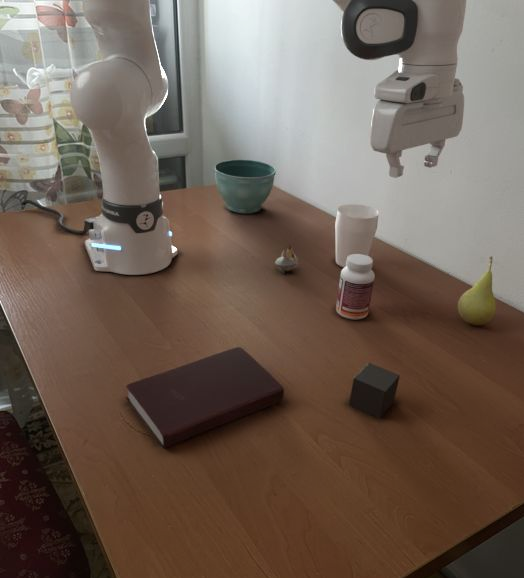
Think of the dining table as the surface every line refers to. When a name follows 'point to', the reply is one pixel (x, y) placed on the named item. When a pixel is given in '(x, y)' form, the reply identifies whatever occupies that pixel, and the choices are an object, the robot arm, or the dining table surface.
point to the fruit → (478, 301)
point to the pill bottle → (355, 287)
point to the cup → (354, 231)
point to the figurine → (286, 261)
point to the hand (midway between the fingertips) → (413, 171)
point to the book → (203, 395)
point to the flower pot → (244, 184)
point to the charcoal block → (374, 390)
